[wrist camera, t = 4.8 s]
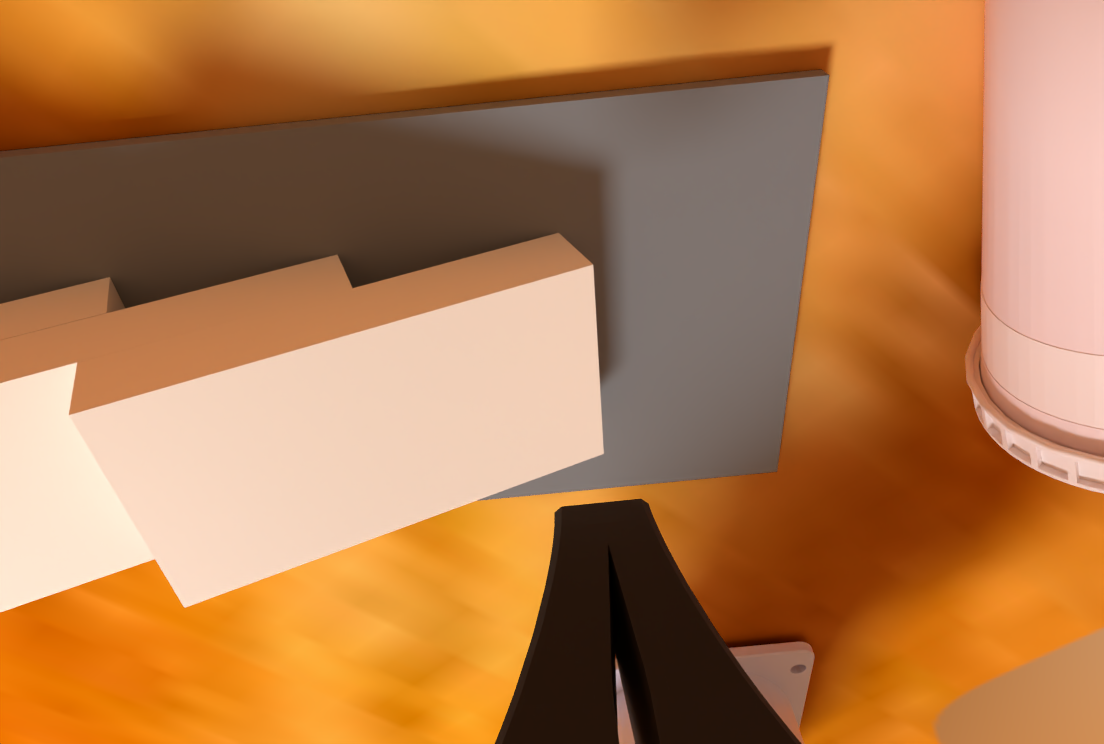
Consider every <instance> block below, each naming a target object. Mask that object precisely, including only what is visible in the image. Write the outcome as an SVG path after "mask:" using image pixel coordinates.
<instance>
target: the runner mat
mask: <svg viewBox="0 0 1104 744" xmlns="http://www.w3.org/2000/svg"><path fill="white" fill-rule="evenodd" d="M828 81H829V75H828V74H827V73H826V72H824V71H823V70H822V69H821V70H811V71H801V72H791V73H781V74H771V75H761V76H751V77H741V78H731V79H721V80H711V81H701V82H691V83H681V84H671V85H661V86H651V87H641V88H631V89H620V90H610V91H600V92H590V93H580V94H570V95H560V96H550V97H540V98H530V99H520V100H510V101H500V102H490V103H480V104H470V105H460V106H450V107H440V108H430V109H420V110H410V111H400V112H390V113H380V114H369V115H359V116H349V117H339V118H329V119H319V120H309V121H299V122H289V123H279V124H269V125H259V126H249V127H239V128H229V129H219V130H209V131H199V132H189V133H179V134H169V135H159V136H149V137H139V138H129V139H118V140H108V141H98V142H88V143H78V144H68V145H58V146H48V147H38V148H28V149H18V150H8V151H0V304H2V303H6V302H10V301H14V300H18V299H23V298H27V297H31V296H35V295H39V294H43V293H47V292H51V291H55V290H59V289H63V288H67V287H71V286H75V285H79V284H84V283H88V282H92V281H96V280H100V279H104V278H108V277H110V278H111V280H112V282H113V284H114V286H115V289H116V291H117V293H118V295H119V297H120V299H121V301H122V303H123V305H124V307H125V309H126V308H130V307H133V306H137V305H141V304H145V303H149V302H153V301H157V300H161V299H165V298H169V297H173V296H177V295H181V294H184V293H188V292H192V291H196V290H200V289H204V288H208V287H212V286H216V285H220V284H224V283H228V282H232V281H235V280H239V279H243V278H247V277H251V276H255V275H259V274H263V273H267V272H271V271H275V270H279V269H283V268H286V267H290V266H294V265H298V264H302V263H306V262H310V261H314V260H318V259H322V258H326V257H330V256H334V255H338V257H339V259H340V262H341V264H342V266H343V268H344V270H345V273H346V275H347V277H348V279H349V281H350V284H351V286H352V288H356V287H359V286H363V285H367V284H370V283H374V282H378V281H382V280H385V279H389V278H393V277H396V276H400V275H404V274H407V273H411V272H415V271H419V270H422V269H426V268H430V267H433V266H437V265H441V264H444V263H448V262H452V261H456V260H459V259H463V258H467V257H470V256H474V255H478V254H482V253H485V252H489V251H493V250H496V249H500V248H504V247H507V246H511V245H515V244H519V243H522V242H526V241H530V240H533V239H537V238H541V237H544V236H548V235H552V234H556V233H559V234H561V235H562V236H563V237H564V238H565V239H566V240H567V241H568V242H569V243H570V244H571V245H572V246H574V247H575V248H576V249H577V250H578V251H579V252H580V253H581V254H582V255H583V256H584V257H585V258H587V259H588V260H589V261H590V262H591V263H592V264H593V269H594V287H595V305H596V323H597V341H598V359H599V377H600V395H601V412H602V430H603V448H604V454H602V455H599V456H597V457H594V458H591V459H588V460H586V461H583V462H580V463H577V464H575V465H572V466H569V467H567V468H564V469H561V470H558V471H556V472H553V473H550V474H547V475H545V476H542V477H539V478H537V479H534V480H531V481H528V482H526V483H523V484H520V485H518V486H515V487H512V488H509V489H507V490H504V491H501V492H498V493H496V494H493V495H490V496H488V497H485V498H482V499H479V500H488V499H499V498H509V497H519V496H530V495H540V494H551V493H561V492H571V491H582V490H592V489H603V488H613V487H623V486H634V485H644V484H655V483H665V482H675V481H686V480H696V479H707V478H717V477H727V476H738V475H748V474H759V473H769V472H777V468H778V461H779V453H780V446H781V438H782V430H783V423H784V415H785V408H786V400H787V392H788V385H789V377H790V370H791V362H792V354H793V347H794V339H795V332H796V324H797V316H798V309H799V301H800V294H801V286H802V278H803V271H804V263H805V256H806V248H807V240H808V233H809V225H810V218H811V210H812V202H813V195H814V187H815V180H816V172H817V164H818V157H819V149H820V142H821V134H822V126H823V119H824V111H825V104H826V96H827V88H828ZM477 501H478V500H477Z"/></svg>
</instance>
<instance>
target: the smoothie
mask: <svg viewBox="0 0 1104 744" xmlns="http://www.w3.org/2000/svg"><path fill="white" fill-rule="evenodd" d="M965 365H966V379H967V384H968V385H969V387H970V389H971V391H972V394H973V401H974V406H975V410H976V413H977V415H978V418H979V420H980V422H981V423H982V425H983V427H984V428H985V430H986V431H987V432H988V434H989V435H990V436H991V437H992V439H993V440H994V441H995V442H996V443H997V444H998V445H999V446H1000V447H1002V448H1003V449H1004V450H1005V451H1007V452H1008V453H1009V454H1010V455H1012V456H1013V457H1015V458H1016V459H1018V460H1019V461H1021V462H1022V463H1024V464H1025V465H1027V466H1029V467H1031V468H1033V469H1035V470H1037V471H1038V472H1041V473H1043V474H1045V475H1047V476H1050V477H1052V478H1054V479H1057V480H1059V481H1062V482H1065V483H1068V484H1070V485H1073V486H1077V487H1080V488H1084V489H1087V490H1091V491H1095V492H1099V493H1104V0H985V33H984V114H983V196H982V277H981V325H980V326H979V328H978V329H977V330H976V331H975V332H974V335H973V337H972V340H971V342H970V345H969V347H968V350H967V352H966V355H965Z"/></svg>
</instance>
